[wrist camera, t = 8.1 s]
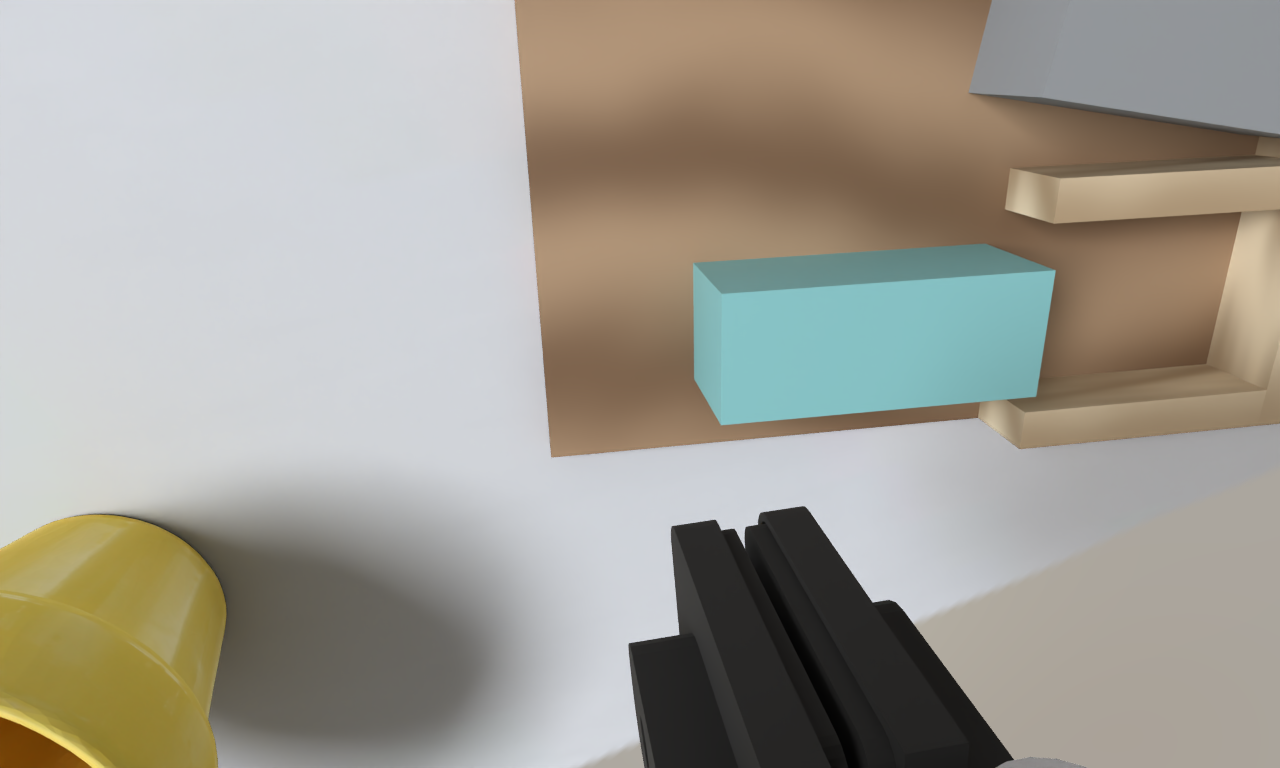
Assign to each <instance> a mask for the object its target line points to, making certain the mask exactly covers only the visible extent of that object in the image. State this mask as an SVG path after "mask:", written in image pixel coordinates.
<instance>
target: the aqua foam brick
mask: <svg viewBox="0 0 1280 768" xmlns="http://www.w3.org/2000/svg"><path fill="white" fill-rule="evenodd" d="M1055 272H1056V270H1054V269H1051V268H1048V267H1046V266H1043V265H1040V264H1038V263H1035V262H1033V261H1030V260H1027V259H1025V258H1022V257H1019V256H1017V255H1014V254H1011V253H1009V252H1006V251H1003V250H1001V249H998V248H996V247H993V246H990V245H988V244H971V245H956V246H941V247H926V248H910V249H895V250H880V251H865V252H850V253H834V254H819V255H804V256H789V257H774V258H758V259H743V260H728V261H713V262H698V263H693V305H694V380H695V381H696V383H697V385H698V386H699V388H700V390H701V392H702V393H703V395H704V397H705V398H706V400H707V402H708V404H709V405H710V407H711V409H712V411H713V412H714V414H715V416H716V417H717V419H718V421H719V423H720V424H721V425H730V424H741V423H752V422H763V421H774V420H785V419H796V418H808V417H819V416H830V415H841V414H852V413H863V412H874V411H885V410H896V409H907V408H918V407H929V406H940V405H951V404H962V403H973V402H984V401H995V400H1006V399H1017V398H1028V397H1036V394H1037V388H1038V381H1039V375H1040V368H1041V362H1042V355H1043V349H1044V343H1045V336H1046V330H1047V323H1048V317H1049V310H1050V304H1051V298H1052V291H1053V285H1054V278H1055Z"/></svg>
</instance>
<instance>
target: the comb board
mask: <svg viewBox="0 0 1280 768" xmlns="http://www.w3.org/2000/svg"><path fill="white" fill-rule="evenodd" d="M991 2H992V0H515V11H516V24H517V36H518V49H519V61H520V74H521V86H522V99H523V111H524V124H525V136H526V149H527V161H528V174H529V186H530V199H531V211H532V223H533V236H534V248H535V261H536V273H537V286H538V298H539V311H540V323H541V336H542V348H543V361H544V373H545V386H546V398H547V411H548V423H549V436H550V448H551V457H562V456H572V455H583V454H594V453H604V452H615V451H626V450H637V449H647V448H658V447H669V446H680V445H690V444H701V443H712V442H722V441H733V440H744V439H755V438H765V437H776V436H787V435H797V434H808V433H819V432H830V431H840V430H851V429H862V428H873V427H883V426H894V425H905V424H915V423H926V422H937V421H948V420H958V419H969V418H979V419H981V420H982V421H983V422H984V423H986V424H987V425H988V426H990V427H991V428H992V429H994V430H995V431H996V432H998V433H999V434H1000V435H1002V436H1003V437H1004V438H1006V439H1007V440H1008V441H1010V442H1011V443H1012V444H1014V445H1015V446H1016V447H1017V448H1019V449H1026V448H1036V447H1046V446H1056V445H1066V444H1076V443H1087V442H1097V441H1107V440H1117V439H1127V438H1137V437H1147V436H1157V435H1167V434H1178V433H1188V432H1198V431H1208V430H1218V429H1228V428H1238V427H1248V426H1258V425H1269V424H1279V423H1280V138H1273V137H1262V136H1252V135H1241V134H1234V133H1228V132H1221V131H1215V130H1208V129H1202V128H1195V127H1188V126H1182V125H1175V124H1169V123H1162V122H1156V121H1149V120H1143V119H1136V118H1130V117H1123V116H1117V115H1110V114H1103V113H1097V112H1090V111H1084V110H1077V109H1071V108H1064V107H1058V106H1051V105H1045V104H1038V103H1032V102H1025V101H1019V100H1012V99H1005V98H999V97H992V96H986V95H979V94H973V93H968V92H969V88H970V84H971V80H972V77H973V73H974V69H975V65H976V61H977V57H978V53H979V49H980V45H981V41H982V38H983V34H984V30H985V26H986V22H987V18H988V14H989V10H990V6H991ZM971 244H988V245H990V246H993V247H996V248H998V249H1001V250H1003V251H1006V252H1009V253H1011V254H1014V255H1017V256H1019V257H1022V258H1025V259H1027V260H1030V261H1033V262H1035V263H1038V264H1040V265H1043V266H1046V267H1048V268H1051V269H1054V270H1056V272H1055V278H1054V285H1053V291H1052V298H1051V304H1050V310H1049V317H1048V323H1047V330H1046V336H1045V343H1044V349H1043V355H1042V362H1041V368H1040V375H1039V381H1038V388H1037V394H1036V397H1028V398H1017V399H1006V400H995V401H984V402H973V403H962V404H951V405H940V406H929V407H918V408H907V409H896V410H885V411H874V412H863V413H852V414H841V415H830V416H819V417H808V418H796V419H785V420H774V421H763V422H752V423H741V424H730V425H721V424H720V423H719V421H718V419H717V417H716V416H715V414H714V412H713V411H712V409H711V407H710V405H709V404H708V402H707V400H706V398H705V397H704V395H703V393H702V392H701V390H700V388H699V386H698V385H697V383H696V381H695V380H694V305H693V263H698V262H713V261H728V260H743V259H758V258H774V257H789V256H804V255H819V254H834V253H850V252H865V251H880V250H895V249H910V248H926V247H941V246H956V245H971Z"/></svg>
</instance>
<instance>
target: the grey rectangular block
mask: <svg viewBox="0 0 1280 768" xmlns="http://www.w3.org/2000/svg"><path fill="white" fill-rule="evenodd" d="M968 93H973V94H979V95H986V96H992V97H999V98H1005V99H1012V100H1019V101H1025V102H1032V103H1038V104H1045V105H1051V106H1058V107H1064V108H1071V109H1077V110H1084V111H1090V112H1097V113H1103V114H1110V115H1117V116H1123V117H1130V118H1136V119H1143V120H1149V121H1156V122H1162V123H1169V124H1175V125H1182V126H1188V127H1195V128H1202V129H1208V130H1215V131H1221V132H1228V133H1234V134H1241V135H1252V136H1262V137H1273V138H1280V0H992V2H991V6H990V10H989V14H988V18H987V22H986V26H985V30H984V34H983V38H982V41H981V45H980V49H979V53H978V57H977V61H976V65H975V69H974V73H973V77H972V80H971V84H970V88H969V92H968Z"/></svg>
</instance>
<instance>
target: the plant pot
mask: <svg viewBox="0 0 1280 768" xmlns="http://www.w3.org/2000/svg"><path fill="white" fill-rule="evenodd" d="M225 625H226V602H225V598H224V594H223V590H222V588H221V585H220V582H219V580H218V578H217V577H216V575H215V573H214V572H213V570H212V569H211V568H210V566H209V565H208V564H207V563H206V561H205V560H204V559H203V558H202V557H201V555H200V554H199V553H198V552H196V551H195V550H194V549H193V548H192V547H191V546H190V545H188V544H187V543H186V542H184V541H183V540H182V539H180V538H179V537H177V536H175V535H174V534H172V533H170V532H168V531H166V530H164V529H162V528H160V527H158V526H155V525H153V524H150V523H147V522H144V521H141V520H137V519H132V518H127V517H122V516H115V515H82V516H75V517H69V518H65V519H61V520H57V521H54V522H51V523H49V524H46V525H44V526H42V527H40V528H38V529H36V530H34V531H32V532H30V533H28V534H27V535H25V536H23V537H21V538H19V539H18V540H16V541H14V542H12V543H10V544H8V545H7V546H5V547H3V548H1V549H0V768H218V758H217V751H216V744H215V739H214V736H213V732H212V729H211V726H210V723H209V721H208V717H209V711H210V706H211V700H212V694H213V688H214V683H215V678H216V673H217V668H218V663H219V657H220V652H221V646H222V642H223V637H224V631H225Z"/></svg>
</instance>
